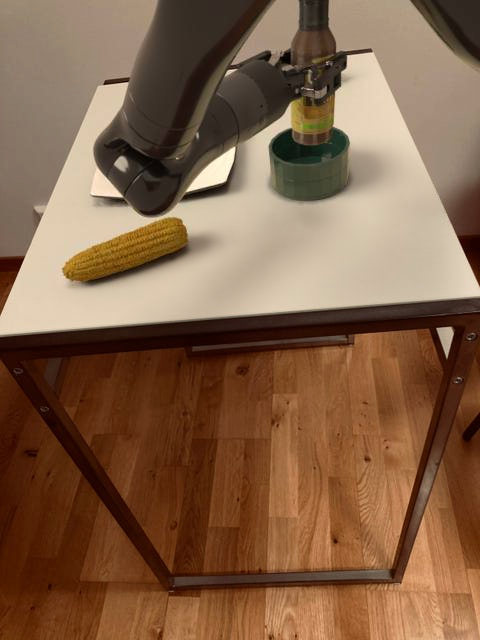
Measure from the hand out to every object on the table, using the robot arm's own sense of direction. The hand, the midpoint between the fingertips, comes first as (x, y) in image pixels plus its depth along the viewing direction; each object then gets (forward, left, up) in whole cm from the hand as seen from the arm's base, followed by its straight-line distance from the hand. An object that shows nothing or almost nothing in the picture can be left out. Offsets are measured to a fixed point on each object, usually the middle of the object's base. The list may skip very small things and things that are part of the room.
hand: (322, 54), depth 69 cm
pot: (+4, -9, -26) cm, 28 cm away
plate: (+34, -11, -26) cm, 44 cm away
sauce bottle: (+1, +2, -11) cm, 11 cm away
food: (+28, +19, -26) cm, 43 cm away
